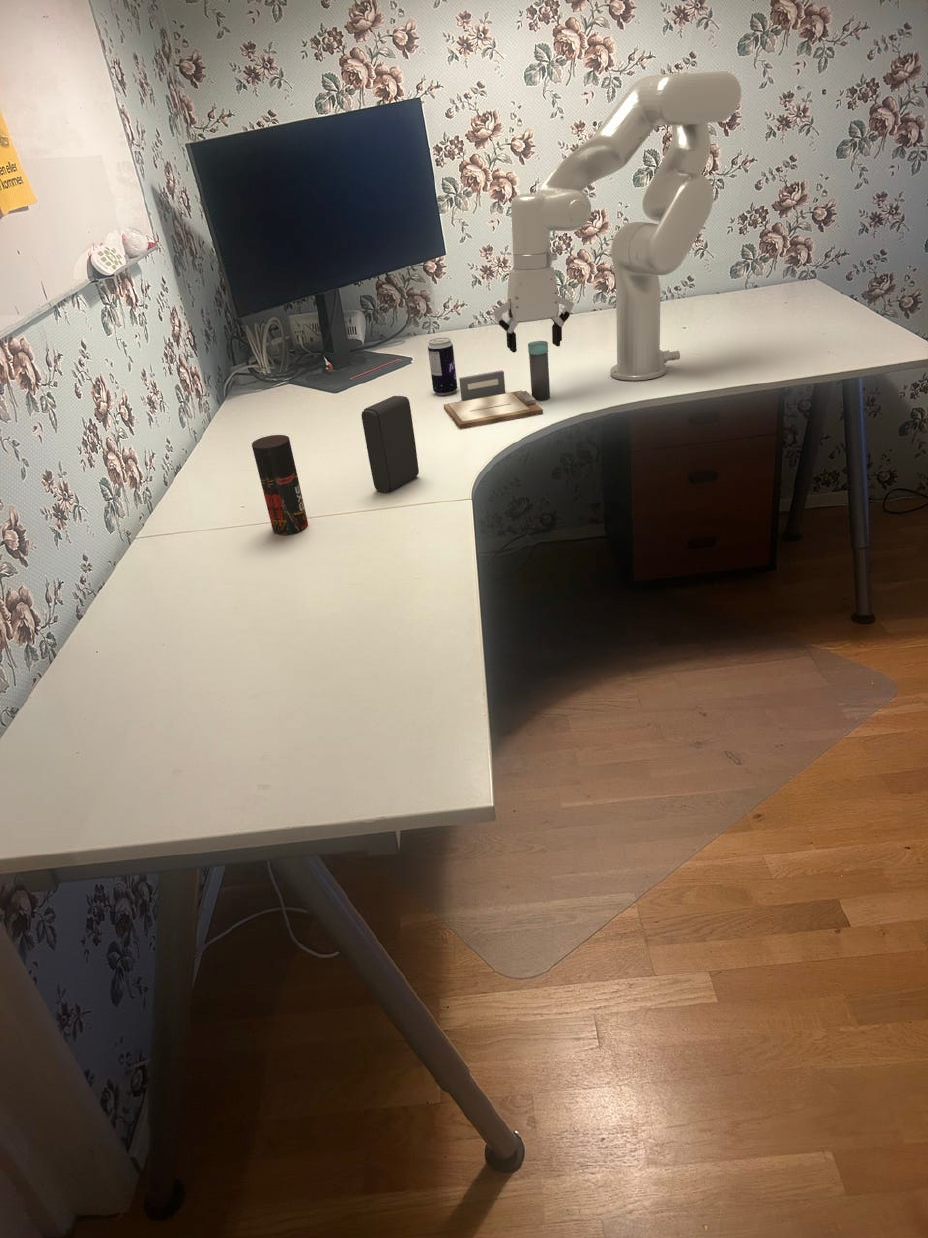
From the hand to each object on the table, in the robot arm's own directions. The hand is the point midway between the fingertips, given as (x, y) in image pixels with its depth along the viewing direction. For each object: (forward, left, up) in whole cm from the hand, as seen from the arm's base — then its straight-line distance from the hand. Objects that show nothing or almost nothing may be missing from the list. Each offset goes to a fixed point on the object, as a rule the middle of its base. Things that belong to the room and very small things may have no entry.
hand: (534, 347), depth 180 cm
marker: (-1, 0, -11) cm, 11 cm away
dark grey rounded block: (+37, +33, -11) cm, 51 cm away
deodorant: (+57, +43, -11) cm, 72 cm away
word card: (+10, -8, -11) cm, 17 cm away
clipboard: (+11, +3, -11) cm, 16 cm away
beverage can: (+17, -16, -11) cm, 26 cm away
